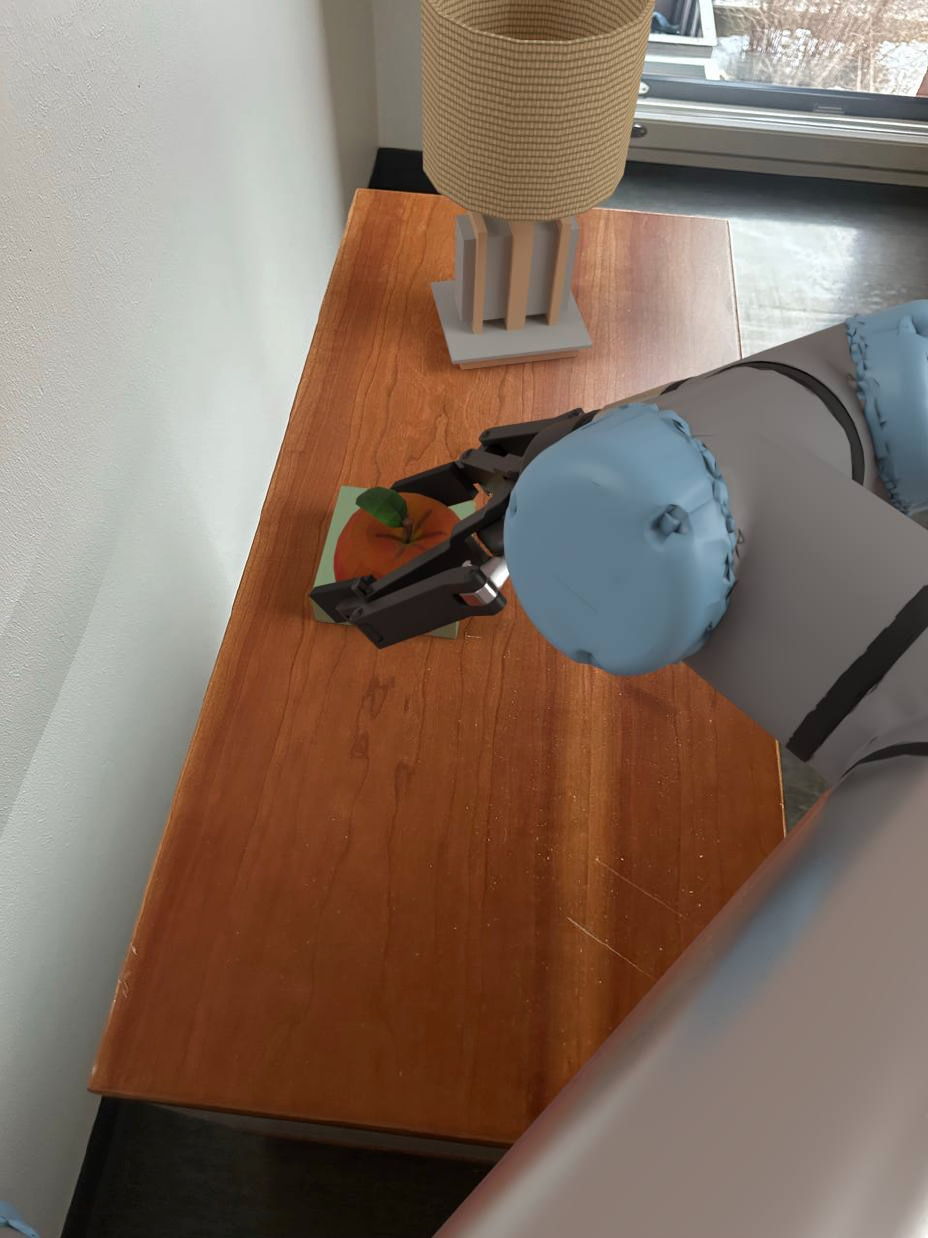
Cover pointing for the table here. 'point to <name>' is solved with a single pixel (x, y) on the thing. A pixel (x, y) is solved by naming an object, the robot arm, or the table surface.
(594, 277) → the table surface
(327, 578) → the green block
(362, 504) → the fruit
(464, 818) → the table surface
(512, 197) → the desk lamp
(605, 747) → the table surface
